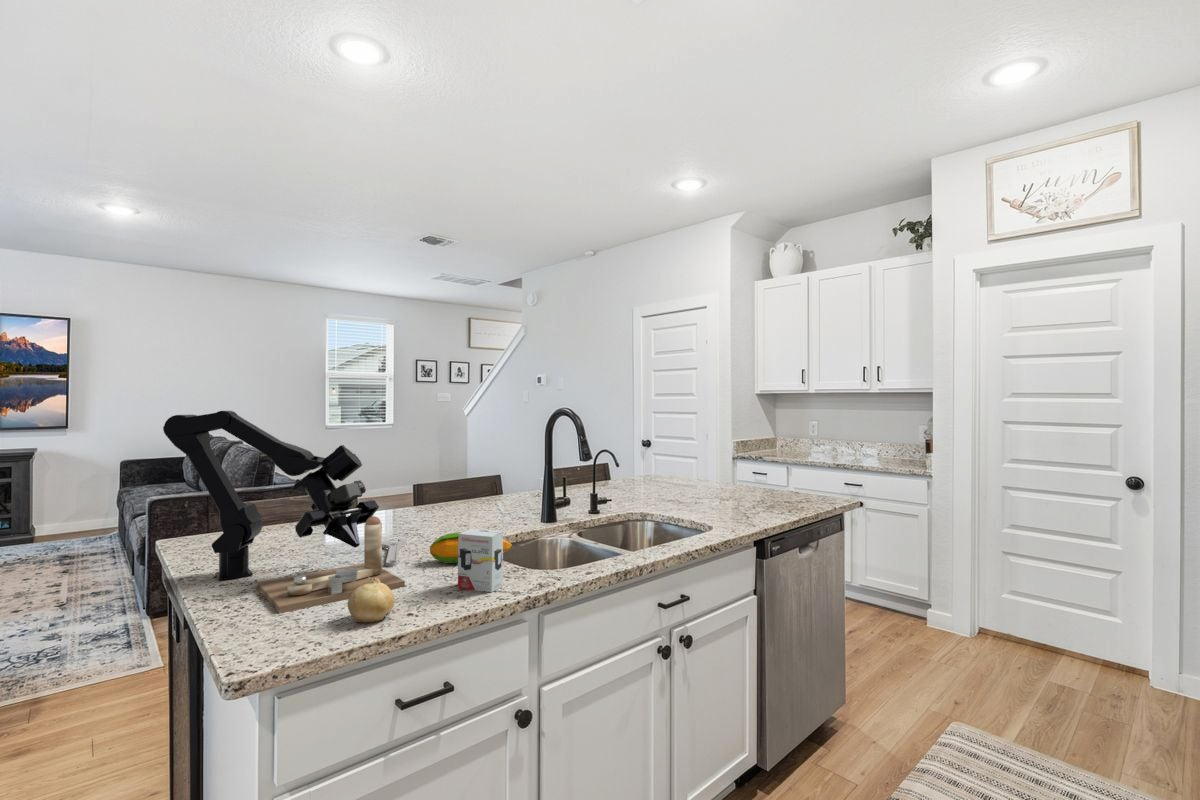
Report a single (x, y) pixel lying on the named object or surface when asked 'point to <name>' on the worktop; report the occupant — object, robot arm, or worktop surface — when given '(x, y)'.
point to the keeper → (335, 579)
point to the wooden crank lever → (370, 568)
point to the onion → (371, 601)
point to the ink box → (480, 560)
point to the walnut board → (283, 602)
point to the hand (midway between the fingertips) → (357, 546)
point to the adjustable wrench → (393, 551)
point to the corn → (451, 548)
